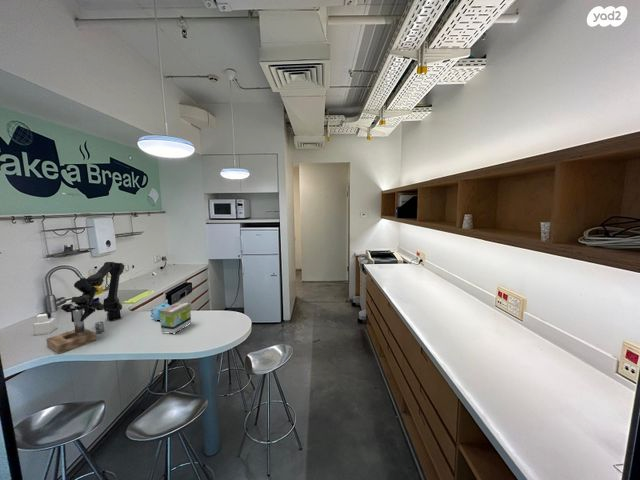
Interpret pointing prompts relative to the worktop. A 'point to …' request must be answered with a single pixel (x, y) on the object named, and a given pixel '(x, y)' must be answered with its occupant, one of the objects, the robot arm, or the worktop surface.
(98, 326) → the short pin
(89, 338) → the plate
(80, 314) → the long pin
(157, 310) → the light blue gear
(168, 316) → the tea box
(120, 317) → the robot arm
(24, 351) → the worktop surface
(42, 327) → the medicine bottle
